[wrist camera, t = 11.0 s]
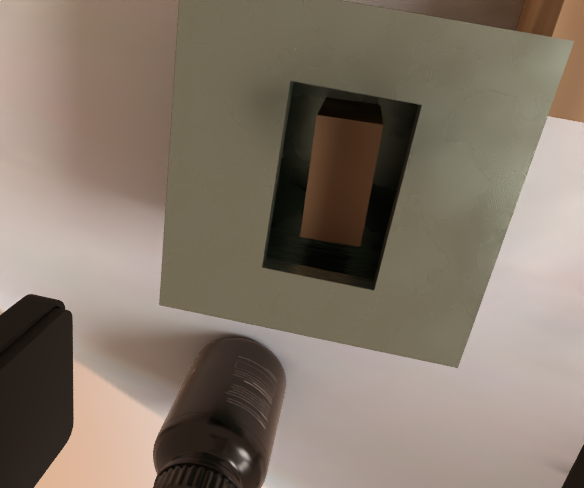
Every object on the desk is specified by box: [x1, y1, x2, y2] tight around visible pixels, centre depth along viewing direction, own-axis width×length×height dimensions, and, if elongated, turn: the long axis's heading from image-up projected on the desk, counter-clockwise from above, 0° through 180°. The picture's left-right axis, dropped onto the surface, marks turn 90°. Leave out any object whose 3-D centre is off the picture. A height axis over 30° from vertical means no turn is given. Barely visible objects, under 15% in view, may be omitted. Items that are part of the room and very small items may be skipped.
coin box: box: [159, 0, 574, 368], centre depth 26 cm, size 14×14×10 cm
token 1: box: [300, 97, 383, 247], centre depth 27 cm, size 3×6×6 cm, turn 173°
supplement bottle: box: [153, 337, 286, 488], centre depth 33 cm, size 7×7×12 cm
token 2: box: [516, 0, 584, 122], centre depth 24 cm, size 3×6×6 cm, turn 171°
